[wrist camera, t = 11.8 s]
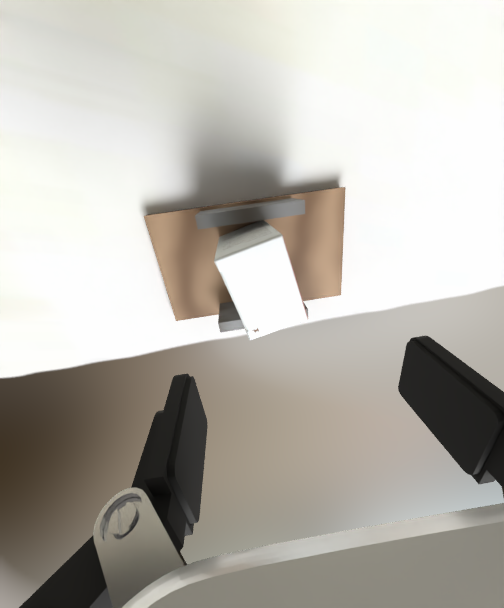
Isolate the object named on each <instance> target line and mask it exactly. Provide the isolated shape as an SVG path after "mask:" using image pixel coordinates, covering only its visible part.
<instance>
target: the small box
mask: <svg viewBox="0 0 504 608" xmlns="http://www.w3.org/2000/svg"><path fill="white" fill-rule="evenodd" d="M214 263H215V265H216V266H217V268H218V270H219V272H220V274H221V276H222V278H223V280H224V283H225V285H226V287H227V289H228V291H229V294H230V296H231V298H232V300H233V302H234V304H235V307H236V309H237V311H238V313H239V316H240V318H241V320H242V322H243V325H244V327H245V330H246V333H247V335H248V338H249V340H252V339H255V338H258V337H261V336H264V335H266V334H269V333H272V332H275V331H278V330H280V329H283V328H286V327H289V326H291V325H294V324H297V323H300V322H302V321H305V320H307V319H308V316H307V313H306V310H305V306H304V303H303V300H302V296H301V293H300V290H299V287H298V283H297V280H296V277H295V274H294V270H293V267H292V264H291V261H290V257H289V254H288V251H287V247H286V244H285V241H284V238H283V235H282V234H281V233H280V232H278V231H277V230H276V229H275V228H273V227H272V226H271V225H270V224H268V223H267V222H266V221H264V220H261V221H258V222H255V223H253V224H250V225H248V226H245V227H243V228H240V229H238V230H235V231H233V232H230V233H228V234H225V235H223V236H220V237H219V241H218V245H217V249H216V254H215V259H214Z"/></svg>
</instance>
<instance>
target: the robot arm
mask: <svg viewBox="0 0 504 608" xmlns="http://www.w3.org/2000/svg"><path fill="white" fill-rule="evenodd" d="M398 389H399V392H400V394H401V396H402V397H403V398H404V399H405V401H406V402H407V403H408V404H409V405H410V407H411V408H412V409H413V410H414V412H415V413H416V414H417V415H418V416H419V418H420V419H421V420H422V421H423V422H424V423H425V424H426V426H427V427H428V428H429V429H430V431H431V432H432V433H433V434H434V435H435V437H436V438H437V439H438V440H439V442H440V443H441V444H442V445H443V446H444V448H445V449H446V450H447V451H448V452H449V453H450V455H451V456H452V457H453V458H454V460H455V461H456V462H457V463H458V464H459V465H460V467H461V468H462V469H463V470H464V471H465V472H466V473H467V474H470V475H472V477H473V478H474V479H475V480H476V481H477V482H478V484H483V483H488V482H493V481H495V480H496V481H497V482H498V483H499V484H500V485H501V486H502V490H503V497H504V392H503V391H501V390H500V389H499V388H498V387H496V386H495V385H493V384H492V383H491V382H489V381H488V380H487V379H485V378H484V377H483V376H481V375H480V374H479V373H477V372H476V371H474V370H473V369H472V368H471V367H469V366H468V365H466V364H465V363H464V362H462V361H461V360H460V359H458V358H457V357H456V356H454V355H453V354H452V353H450V352H449V351H448V350H446V349H445V348H444V347H442V346H441V345H440V344H438V343H437V342H435V341H434V340H433V339H431V338H430V337H428V336H421V337H415V338H411V339H410V341H409V342H408V343H407V346H406V351H405V356H404V361H403V366H402V371H401V376H400V381H399V386H398ZM206 436H207V418H206V415H205V412H204V409H203V405H202V402H201V399H200V396H199V392H198V389H197V386H196V383H195V379H194V377H193V376H192V377H190V376H189V375H188V374H182V375H176V376H174V377H173V380H172V383H171V387H170V390H169V394H168V397H167V400H166V404H165V407H164V410H163V411H158V412H157V413H156V414H155V417H154V419H153V422H152V426H151V429H150V432H149V435H148V438H147V441H146V444H145V447H144V450H143V453H142V456H141V460H140V462H139V465H138V469H137V472H136V475H135V478H134V481H133V484H132V487H131V488H128V489H126V490H123V491H121V492H120V493H118V494H117V495H115V496H114V497H113V498H112V499H111V500H110V501H109V502H108V503H107V504H106V505H105V507H104V508H103V509H102V511H101V512H100V514H99V516H98V519H97V520H96V523H95V527H94V531H93V536H92V537H91V538H90V539H89V540H88V541H87V542H86V543H85V544H84V545H83V546H82V547H81V548H80V549H79V550H78V551H77V552H76V553H75V554H74V555H73V556H72V557H71V558H70V559H69V560H67V561H66V563H64V565H62V566H61V567H60V568H59V569H58V570H57V571H56V572H55V573H54V574H53V575H52V576H51V577H50V578H49V579H48V580H47V581H46V582H45V583H44V584H43V585H42V586H41V587H40V588H39V589H38V590H37V591H36V592H35V593H34V594H33V595H32V596H31V597H30V598H29V599H28V600H27V601H26V602H24V603H23V605H21V606H20V607H19V608H504V503H502V504H496V505H490V506H485V507H478V508H472V509H467V510H461V511H455V512H449V513H443V514H437V515H432V516H426V517H420V518H415V519H409V520H404V521H398V522H392V523H387V524H381V525H375V526H370V527H364V528H358V529H353V530H347V531H342V532H336V533H331V534H325V535H320V536H314V537H309V538H304V539H298V540H293V541H287V542H282V543H276V544H271V545H266V546H261V547H257V548H251V549H246V550H242V551H237V552H232V553H227V554H222V555H219V556H215V557H211V558H207V559H204V560H200V561H196V562H193V563H191V564H188V565H187V563H186V561H185V560H184V558H183V556H182V555H181V552H180V550H181V549H182V548H183V544H184V537H185V536H186V535H192V534H193V526H194V523H197V522H198V521H199V515H200V504H201V493H202V481H203V470H204V459H205V448H206Z"/></svg>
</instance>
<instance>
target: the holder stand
mask: <svg viewBox="0 0 504 608" xmlns="http://www.w3.org/2000/svg"><path fill="white" fill-rule="evenodd" d="M344 207H345V187H339V188H332V189H325V190H318V191H311V192H304V193H297V194H290V195H283V196H276V197H269V198H262V199H255V200H248V201H241V202H234V203H227V204H220V205H214V206H207V207H200V208H193V209H186V210H179V211H172V212H165V213H158V214H151V215H146V216H144V218H145V222H146V225H147V228H148V231H149V235H150V238H151V241H152V244H153V248H154V251H155V254H156V257H157V260H158V264H159V267H160V270H161V273H162V277H163V280H164V283H165V286H166V290H167V293H168V296H169V299H170V303H171V306H172V309H173V312H174V316H175V319H176V321H179V320H185V319H192V318H198V317H204V316H211V315H217V314H219V321H218V324H219V328H220V332H225V331H232V330H238V329H244V328H245V327H244V325H243V322H242V320H241V318H240V316H239V313H238V311H237V309H236V307H235V304H234V302H233V300H232V298H231V296H230V294H229V291H228V289H227V287H226V285H225V283H224V280H223V278H222V276H221V274H220V272H219V270H218V268H217V266H216V265H215V263H214V259H215V254H216V249H217V245H218V241H219V237H220V236H223V235H225V234H228V233H230V232H233V231H235V230H238V229H240V228H243V227H245V226H248V225H250V224H253V223H255V222H258V221H261V220H264V221H266V222H267V223H268V224H270V225H271V226H272V227H273V228H275V229H276V230H277V231H278V232H280V233H281V234H282V235H283V238H284V241H285V244H286V247H287V251H288V254H289V257H290V261H291V264H292V267H293V270H294V274H295V277H296V280H297V283H298V287H299V290H300V293H301V296H302V300H303V301H306V300H313V299H319V298H325V297H332V296H338V295H341V280H342V255H343V231H344ZM304 306H305V304H304ZM305 310H306V313H307V316H308V309H307V307H306V306H305Z"/></svg>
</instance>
